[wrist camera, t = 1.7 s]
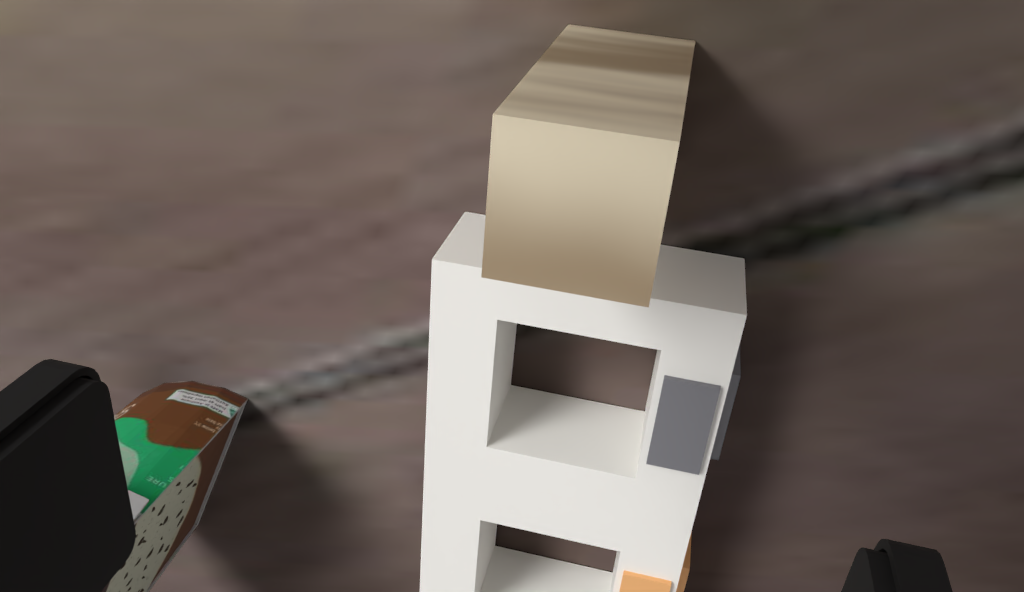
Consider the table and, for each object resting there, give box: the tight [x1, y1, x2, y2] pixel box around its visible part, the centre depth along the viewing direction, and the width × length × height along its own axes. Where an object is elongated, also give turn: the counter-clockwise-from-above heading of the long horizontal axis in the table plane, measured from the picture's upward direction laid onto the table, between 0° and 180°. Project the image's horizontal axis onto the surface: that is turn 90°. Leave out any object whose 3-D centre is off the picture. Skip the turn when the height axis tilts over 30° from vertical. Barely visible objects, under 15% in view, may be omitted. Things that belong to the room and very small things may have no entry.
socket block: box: [420, 212, 747, 592], centre depth 32 cm, size 18×10×4 cm, turn 175°
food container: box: [101, 381, 248, 592], centre depth 35 cm, size 12×6×10 cm, turn 154°
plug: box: [481, 24, 695, 307], centre depth 23 cm, size 4×4×10 cm
